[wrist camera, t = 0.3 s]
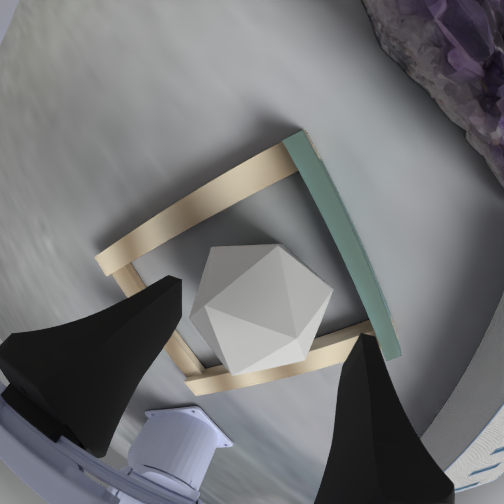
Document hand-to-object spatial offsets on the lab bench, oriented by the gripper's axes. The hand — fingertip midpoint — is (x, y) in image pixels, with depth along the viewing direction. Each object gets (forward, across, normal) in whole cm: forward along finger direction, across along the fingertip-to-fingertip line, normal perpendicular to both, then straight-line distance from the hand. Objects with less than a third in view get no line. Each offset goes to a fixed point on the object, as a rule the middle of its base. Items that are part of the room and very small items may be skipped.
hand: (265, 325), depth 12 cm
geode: (+13, -9, -13) cm, 21 cm away
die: (+10, +1, +5) cm, 12 cm away
